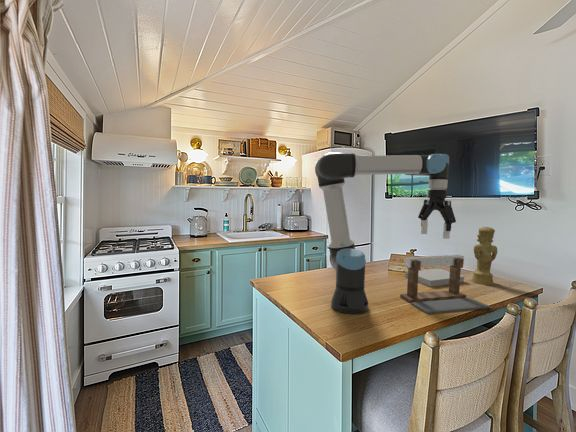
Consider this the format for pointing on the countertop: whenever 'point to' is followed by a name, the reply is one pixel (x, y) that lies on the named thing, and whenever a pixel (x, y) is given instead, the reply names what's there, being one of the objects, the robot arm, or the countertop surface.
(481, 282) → the statue
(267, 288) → the countertop surface
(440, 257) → the rail
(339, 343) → the countertop surface
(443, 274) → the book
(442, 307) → the mat
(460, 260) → the rack
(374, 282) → the countertop surface
